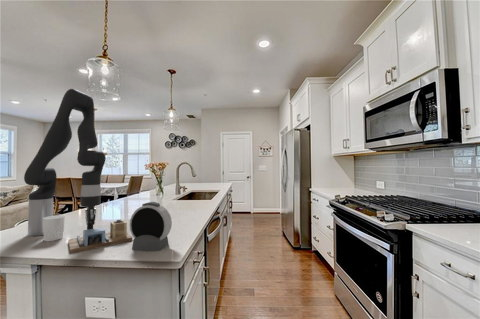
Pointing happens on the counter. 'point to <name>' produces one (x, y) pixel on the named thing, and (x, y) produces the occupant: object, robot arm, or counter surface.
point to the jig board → (96, 242)
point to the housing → (93, 235)
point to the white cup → (53, 227)
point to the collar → (118, 229)
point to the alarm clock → (150, 227)
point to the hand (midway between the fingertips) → (89, 233)
